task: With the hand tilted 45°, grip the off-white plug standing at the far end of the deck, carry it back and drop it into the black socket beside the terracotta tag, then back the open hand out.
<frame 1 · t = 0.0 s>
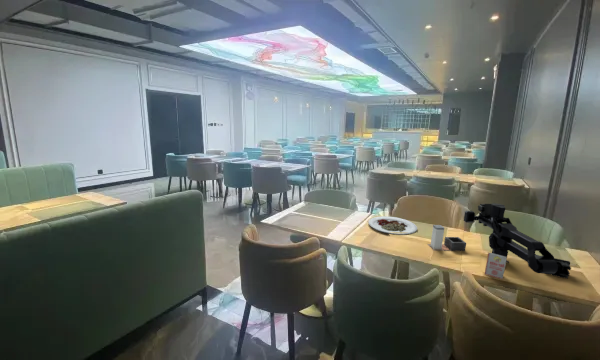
hand: (472, 212, 163), 17 cm above the table, tool horizontal, fingers open, 9 cm apart
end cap: (552, 273, 131), on the table
plated food: (391, 227, 182), on the table
tea bag: (493, 275, 128), on the table
plug: (435, 247, 152), point 1 cm above the table, touching socket deck
socket deck: (445, 249, 152), on the table
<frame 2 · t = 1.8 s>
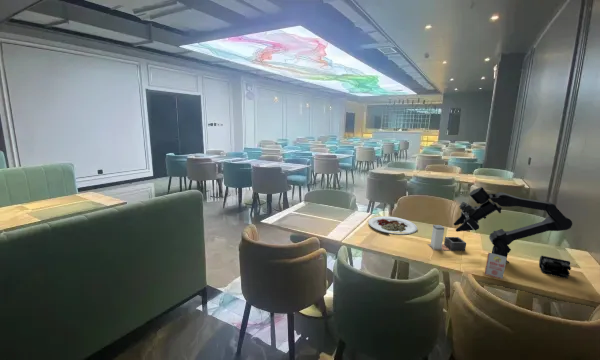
hand: (455, 227, 146), 14 cm above the table, tool tilted 45°, fingers open, 9 cm apart
nothing on the table moved.
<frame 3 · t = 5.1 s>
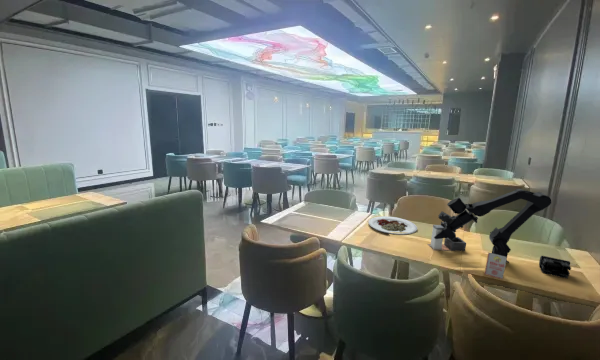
hand: (434, 236, 151), 7 cm above the table, tool tilted 45°, fingers closed on plug, 5 cm apart
plug: (435, 247, 152), point 1 cm above the table, touching gripper, socket deck
everything else where it was.
when the fingers open (9 cm above the table, at t = 9.9 s): plug drops 1 cm, resting on socket deck.
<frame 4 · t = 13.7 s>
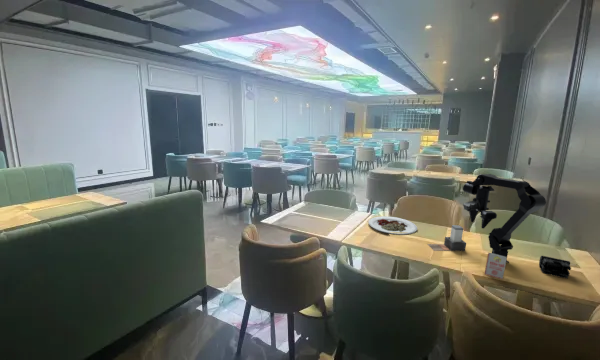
hand: (477, 225, 152), 13 cm above the table, tool pointing down, fingers open, 9 cm apart
plug: (454, 247, 152), point 1 cm above the table, touching socket deck
everything else where it was.
at the end: plug 0.1 cm from the target spot, point 1.0 cm above the table; plug tilted 0°; the gripper is holding nothing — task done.
